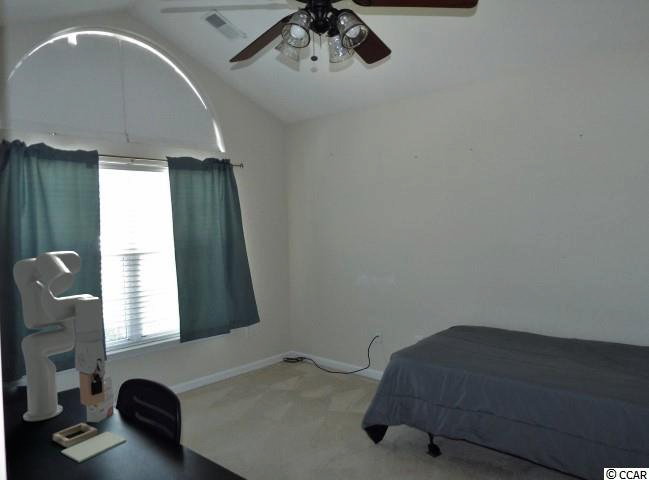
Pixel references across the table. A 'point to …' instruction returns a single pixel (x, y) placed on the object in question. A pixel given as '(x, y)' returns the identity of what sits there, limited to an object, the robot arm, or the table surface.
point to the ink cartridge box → (102, 404)
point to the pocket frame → (90, 432)
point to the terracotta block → (89, 390)
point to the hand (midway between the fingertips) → (92, 391)
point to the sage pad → (93, 446)
